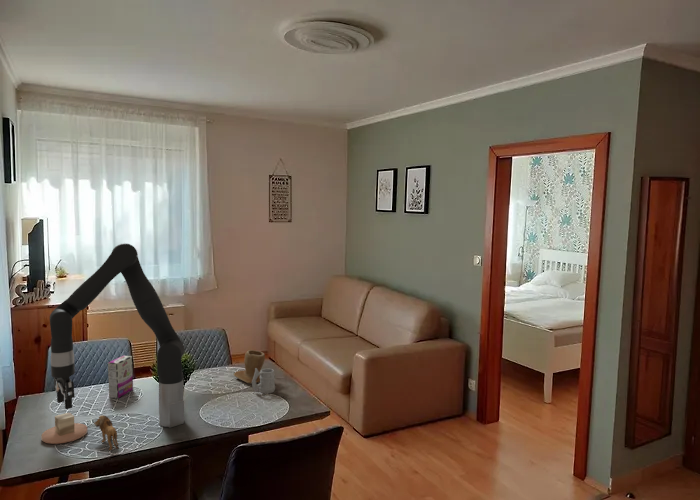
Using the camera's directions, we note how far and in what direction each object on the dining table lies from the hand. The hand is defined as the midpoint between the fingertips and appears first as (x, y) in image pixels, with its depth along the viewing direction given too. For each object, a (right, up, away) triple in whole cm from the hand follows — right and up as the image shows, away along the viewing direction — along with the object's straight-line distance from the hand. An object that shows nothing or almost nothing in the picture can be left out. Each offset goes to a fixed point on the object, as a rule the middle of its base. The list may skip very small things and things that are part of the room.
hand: (64, 405), depth 186 cm
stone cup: (+56, -8, +66) cm, 87 cm away
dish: (-1, -12, +1) cm, 12 cm away
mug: (+65, -9, +51) cm, 83 cm away
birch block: (-1, -10, +1) cm, 10 cm away
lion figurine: (+18, -13, -4) cm, 22 cm away
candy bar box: (+1, -9, +44) cm, 44 cm away
